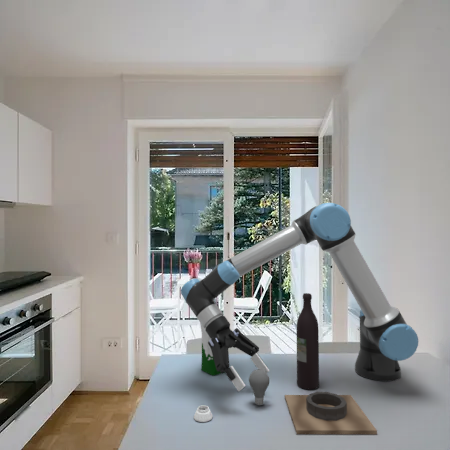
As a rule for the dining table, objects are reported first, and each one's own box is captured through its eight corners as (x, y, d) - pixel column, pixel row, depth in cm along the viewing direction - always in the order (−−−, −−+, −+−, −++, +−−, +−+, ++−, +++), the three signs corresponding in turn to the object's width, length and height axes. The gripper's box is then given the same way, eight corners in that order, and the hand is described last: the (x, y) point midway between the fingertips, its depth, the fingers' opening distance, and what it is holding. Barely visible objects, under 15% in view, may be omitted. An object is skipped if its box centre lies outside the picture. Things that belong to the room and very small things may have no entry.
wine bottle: (298, 380, 127) (297, 291, 127) (320, 383, 124) (319, 292, 125) (295, 388, 120) (294, 295, 120) (317, 391, 118) (317, 296, 118)
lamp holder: (350, 398, 113) (350, 385, 113) (377, 434, 93) (376, 418, 93) (284, 398, 113) (284, 384, 113) (296, 434, 93) (296, 418, 93)
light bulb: (268, 410, 106) (268, 374, 106) (247, 408, 107) (247, 373, 107) (270, 400, 112) (270, 367, 112) (250, 398, 113) (250, 365, 113)
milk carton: (216, 364, 142) (216, 311, 142) (232, 371, 135) (231, 315, 135) (197, 370, 136) (197, 315, 137) (212, 377, 129) (212, 319, 129)
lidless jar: (215, 417, 102) (200, 412, 105) (215, 406, 102) (200, 402, 105) (205, 425, 98) (190, 420, 101) (205, 414, 98) (190, 409, 101)
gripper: (229, 321, 130) (267, 374, 121) (181, 338, 110) (222, 403, 101) (242, 308, 127) (282, 361, 118) (195, 322, 107) (238, 388, 98)
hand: (255, 380), depth 110 cm, fingers open, 13 cm apart
